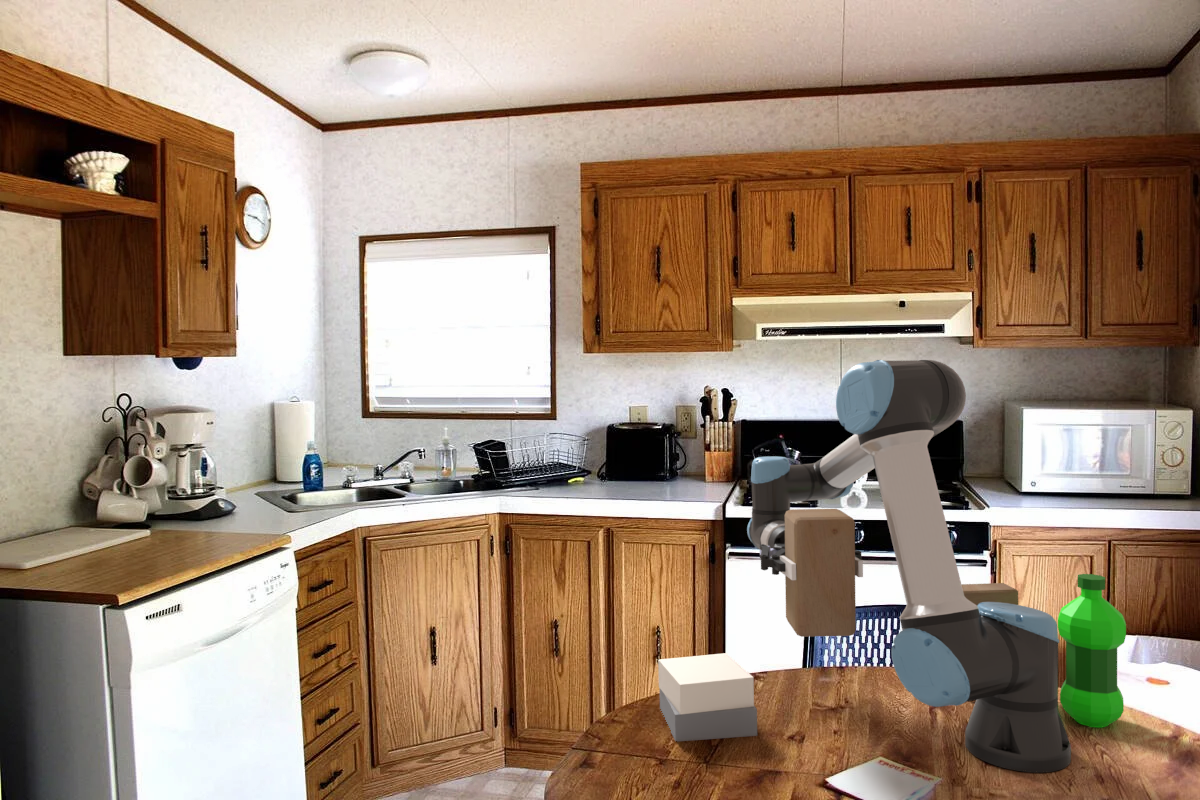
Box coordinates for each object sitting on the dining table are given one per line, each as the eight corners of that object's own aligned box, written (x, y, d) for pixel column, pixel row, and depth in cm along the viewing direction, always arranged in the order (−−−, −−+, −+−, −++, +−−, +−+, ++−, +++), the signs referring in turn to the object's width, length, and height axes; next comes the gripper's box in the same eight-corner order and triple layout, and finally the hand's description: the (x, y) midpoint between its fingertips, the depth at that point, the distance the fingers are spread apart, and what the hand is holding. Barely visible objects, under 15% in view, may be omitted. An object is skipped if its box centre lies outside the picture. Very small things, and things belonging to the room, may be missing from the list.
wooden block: (857, 637, 143) (856, 517, 143) (796, 638, 144) (795, 518, 143) (841, 619, 153) (840, 507, 153) (784, 620, 154) (783, 508, 153)
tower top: (753, 706, 147) (753, 677, 147) (680, 714, 144) (679, 684, 144) (726, 679, 159) (726, 653, 159) (658, 686, 157) (658, 659, 157)
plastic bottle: (1115, 739, 141) (1115, 587, 140) (1047, 720, 149) (1047, 576, 148) (1135, 721, 148) (1136, 576, 147) (1069, 704, 156) (1069, 567, 155)
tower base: (757, 738, 146) (756, 709, 146) (675, 744, 144) (675, 714, 144) (734, 706, 160) (734, 679, 160) (659, 711, 158) (659, 684, 158)
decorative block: (960, 699, 159) (960, 591, 159) (947, 687, 165) (946, 584, 164) (1020, 697, 160) (1019, 590, 159) (1005, 686, 165) (1004, 582, 165)
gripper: (844, 560, 167) (894, 589, 145) (726, 566, 165) (759, 596, 143) (844, 522, 167) (894, 545, 145) (726, 527, 165) (758, 551, 143)
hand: (827, 570), depth 144 cm, fingers closed on wooden block, 11 cm apart
